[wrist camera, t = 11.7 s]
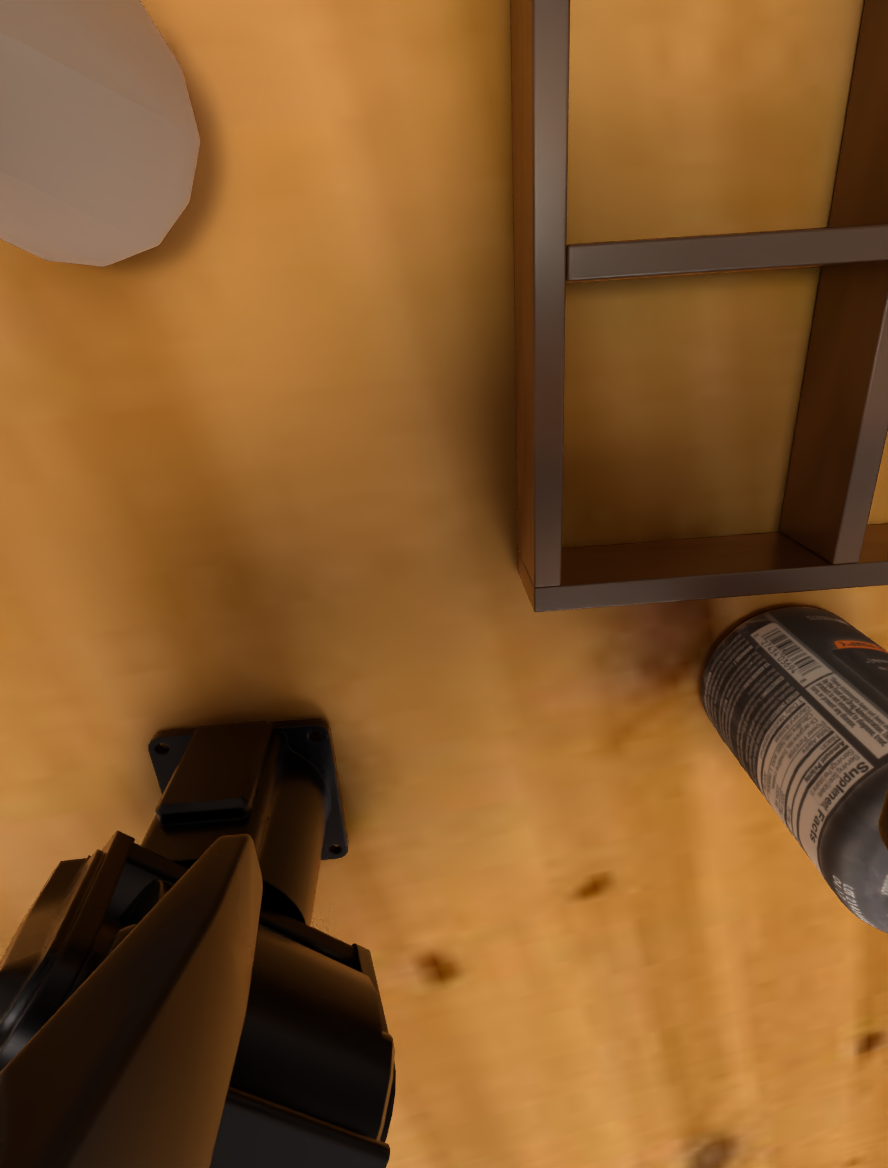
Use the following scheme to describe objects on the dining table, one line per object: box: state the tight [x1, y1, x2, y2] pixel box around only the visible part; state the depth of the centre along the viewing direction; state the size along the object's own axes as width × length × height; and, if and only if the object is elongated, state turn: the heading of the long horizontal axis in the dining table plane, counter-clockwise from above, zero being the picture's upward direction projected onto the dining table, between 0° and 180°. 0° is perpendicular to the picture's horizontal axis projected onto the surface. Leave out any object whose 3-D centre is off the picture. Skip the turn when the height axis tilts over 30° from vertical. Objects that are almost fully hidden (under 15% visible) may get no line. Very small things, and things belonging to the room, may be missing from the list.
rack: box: [510, 0, 888, 612], centre depth 17 cm, size 18×18×3 cm
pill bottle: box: [701, 606, 888, 933], centre depth 19 cm, size 6×6×11 cm
